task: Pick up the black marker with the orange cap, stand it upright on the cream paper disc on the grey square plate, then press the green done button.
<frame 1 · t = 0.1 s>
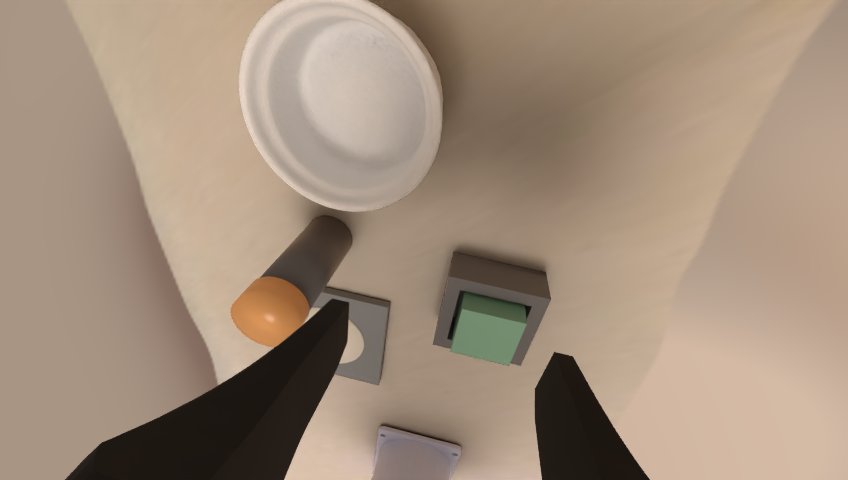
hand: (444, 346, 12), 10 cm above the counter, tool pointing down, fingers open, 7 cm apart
marker: (330, 236, 23), on the counter
grey square plate: (330, 330, 28), on the counter
button housing: (488, 296, 24), on the counter
ramekin: (369, 98, 19), on the counter
done button: (487, 323, 22), point 2 cm above the counter, slide at 0.0 cm
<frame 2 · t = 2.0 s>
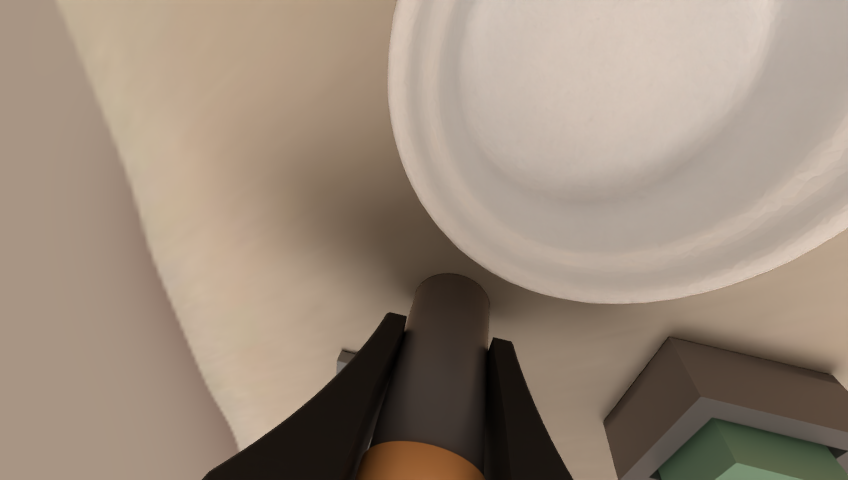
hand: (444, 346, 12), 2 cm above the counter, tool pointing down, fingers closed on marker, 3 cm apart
marker: (451, 303, 14), on the counter, touching gripper
button housing: (704, 401, 15), on the counter
ramekin: (589, 68, 10), on the counter
done button: (738, 465, 13), point 2 cm above the counter, slide at 0.0 cm
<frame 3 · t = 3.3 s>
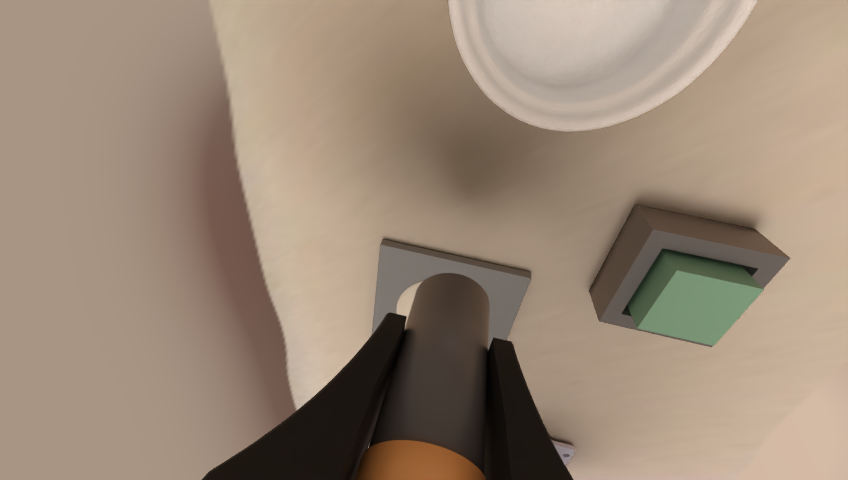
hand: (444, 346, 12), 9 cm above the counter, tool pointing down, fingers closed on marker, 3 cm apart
marker: (451, 303, 14), point 7 cm above the counter, touching gripper
grey square plate: (442, 309, 24), on the counter
button housing: (664, 263, 19), on the counter
done button: (684, 293, 17), point 2 cm above the counter, slide at 0.0 cm
when the fingers open (4 cm above the counter, at t = 5.0 s): marker stays where it is, resting on grey square plate.
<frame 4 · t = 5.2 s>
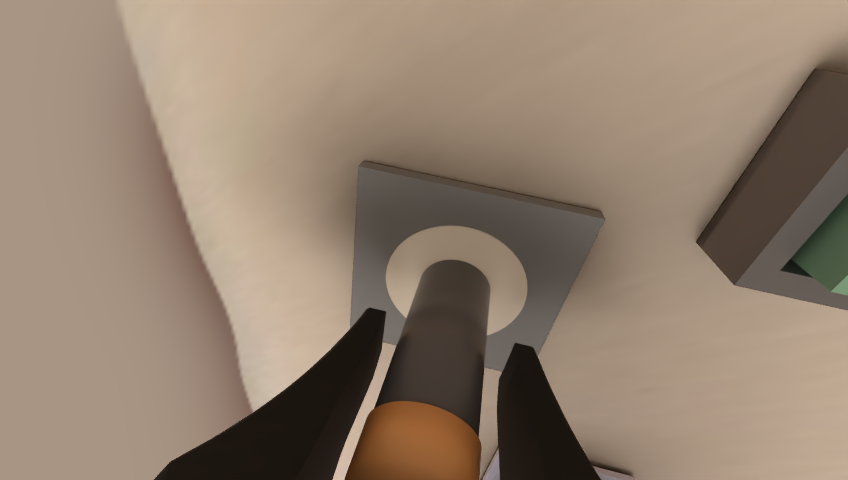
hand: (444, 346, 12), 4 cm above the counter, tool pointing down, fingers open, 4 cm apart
marker: (454, 288, 15), point 1 cm above the counter, touching grey square plate
grey square plate: (455, 278, 16), on the counter
button housing: (843, 186, 11), on the counter
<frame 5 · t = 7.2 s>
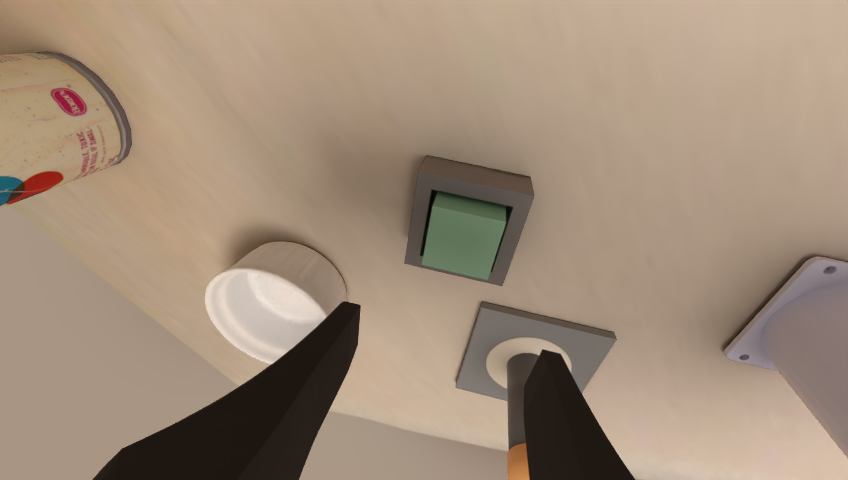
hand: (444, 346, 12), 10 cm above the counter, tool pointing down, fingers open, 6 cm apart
marker: (527, 367, 26), point 1 cm above the counter, touching grey square plate
grey square plate: (527, 359, 27), on the counter
aerosol can: (82, 112, 23), on the counter
button housing: (466, 211, 21), on the counter
ramekin: (299, 281, 27), on the counter
done button: (463, 232, 19), point 2 cm above the counter, slide at 0.0 cm
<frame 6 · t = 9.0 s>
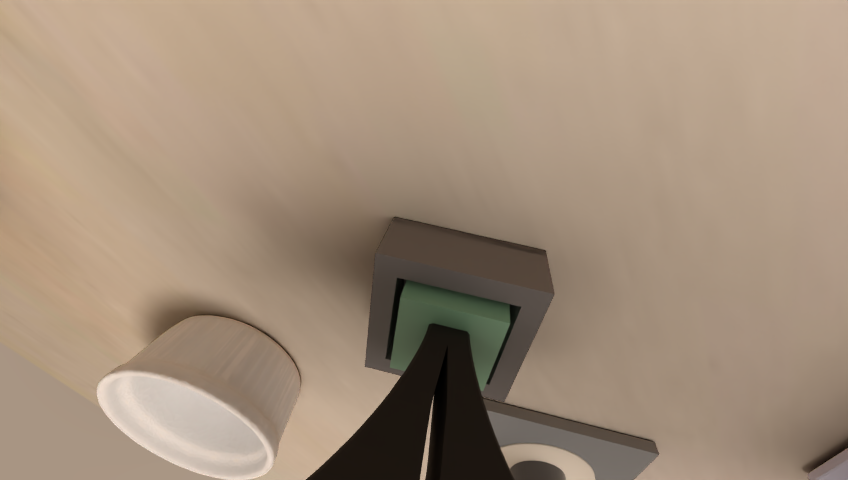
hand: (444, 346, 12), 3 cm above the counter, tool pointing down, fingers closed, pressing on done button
marker: (536, 475, 20), point 1 cm above the counter, touching grey square plate
grey square plate: (535, 462, 20), on the counter
button housing: (453, 291, 15), on the counter
ramekin: (241, 359, 21), on the counter
done button: (448, 322, 13), point 2 cm above the counter, slide at 0.6 cm, touching gripper
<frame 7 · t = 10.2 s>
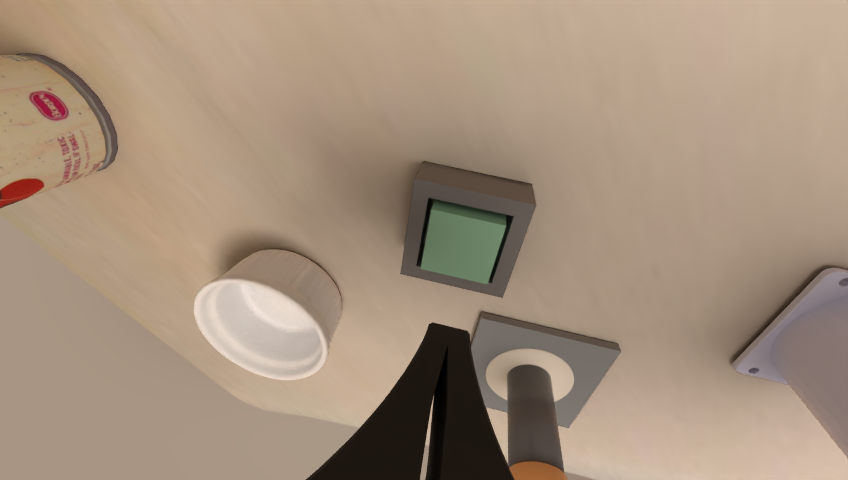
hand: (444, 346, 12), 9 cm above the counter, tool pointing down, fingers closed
marker: (528, 378, 25), point 1 cm above the counter, touching grey square plate
grey square plate: (528, 370, 26), on the counter
aerosol can: (66, 116, 22), on the counter
button housing: (465, 219, 20), on the counter
ramekin: (293, 290, 26), on the counter
done button: (462, 236, 19), point 2 cm above the counter, slide at 0.6 cm
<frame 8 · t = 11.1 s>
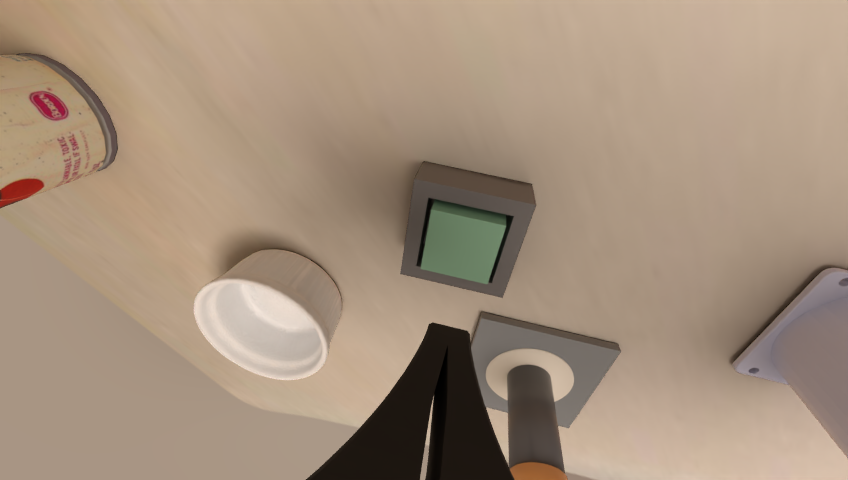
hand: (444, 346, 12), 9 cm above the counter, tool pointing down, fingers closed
marker: (528, 378, 25), point 1 cm above the counter, touching grey square plate
grey square plate: (528, 370, 26), on the counter
aerosol can: (66, 116, 22), on the counter
button housing: (465, 219, 20), on the counter
ramekin: (293, 290, 26), on the counter
done button: (462, 236, 19), point 2 cm above the counter, slide at 0.6 cm
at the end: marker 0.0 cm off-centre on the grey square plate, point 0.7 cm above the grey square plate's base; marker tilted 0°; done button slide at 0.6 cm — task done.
